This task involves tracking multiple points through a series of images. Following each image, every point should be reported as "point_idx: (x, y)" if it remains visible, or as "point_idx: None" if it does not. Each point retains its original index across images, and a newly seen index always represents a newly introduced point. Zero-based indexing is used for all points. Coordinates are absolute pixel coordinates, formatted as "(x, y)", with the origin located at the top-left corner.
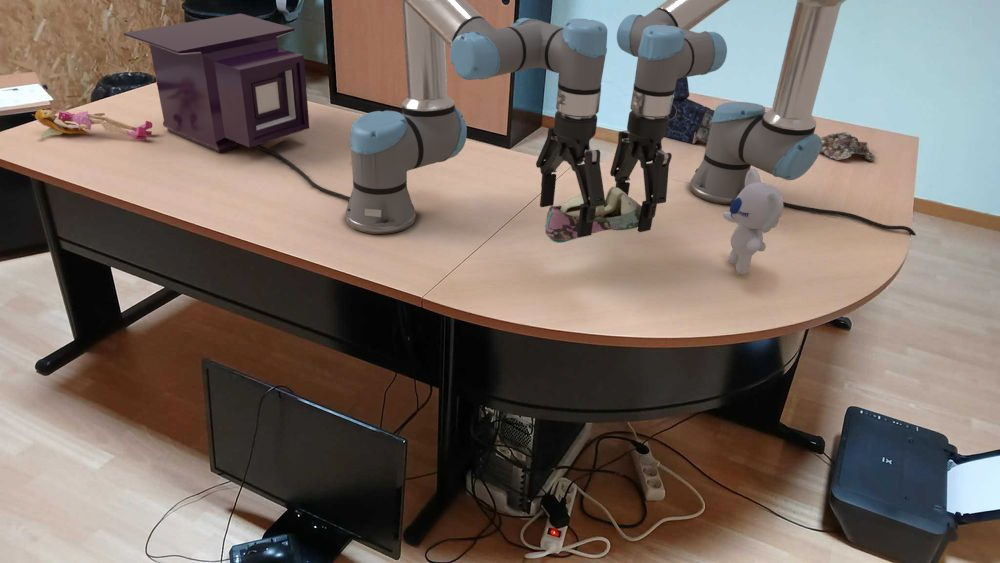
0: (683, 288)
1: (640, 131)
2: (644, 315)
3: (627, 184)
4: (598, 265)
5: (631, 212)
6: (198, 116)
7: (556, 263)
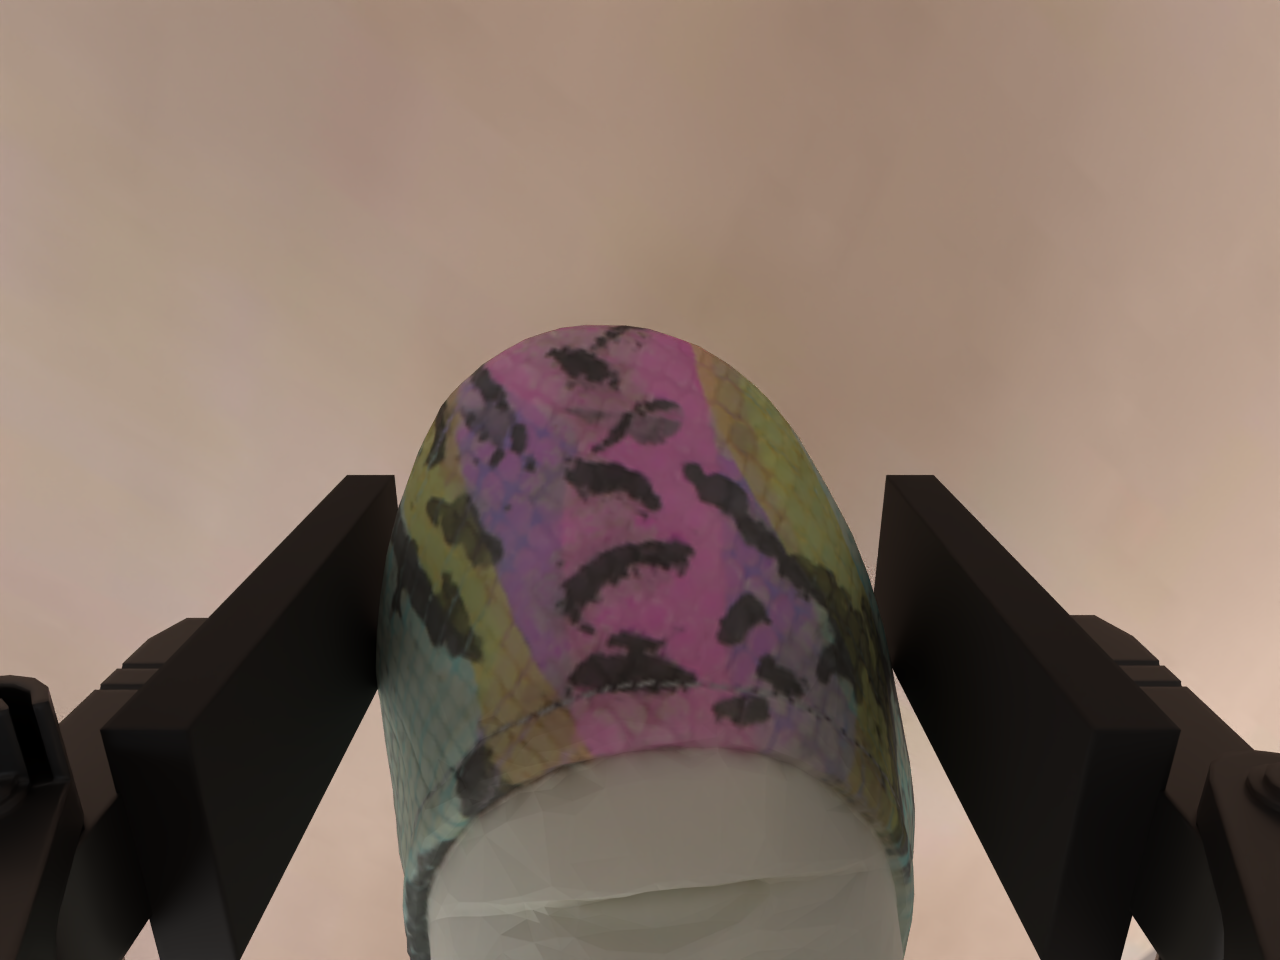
0: (1151, 194)
1: None
2: (1216, 654)
3: (207, 775)
4: None
5: (901, 911)
6: None
7: None
